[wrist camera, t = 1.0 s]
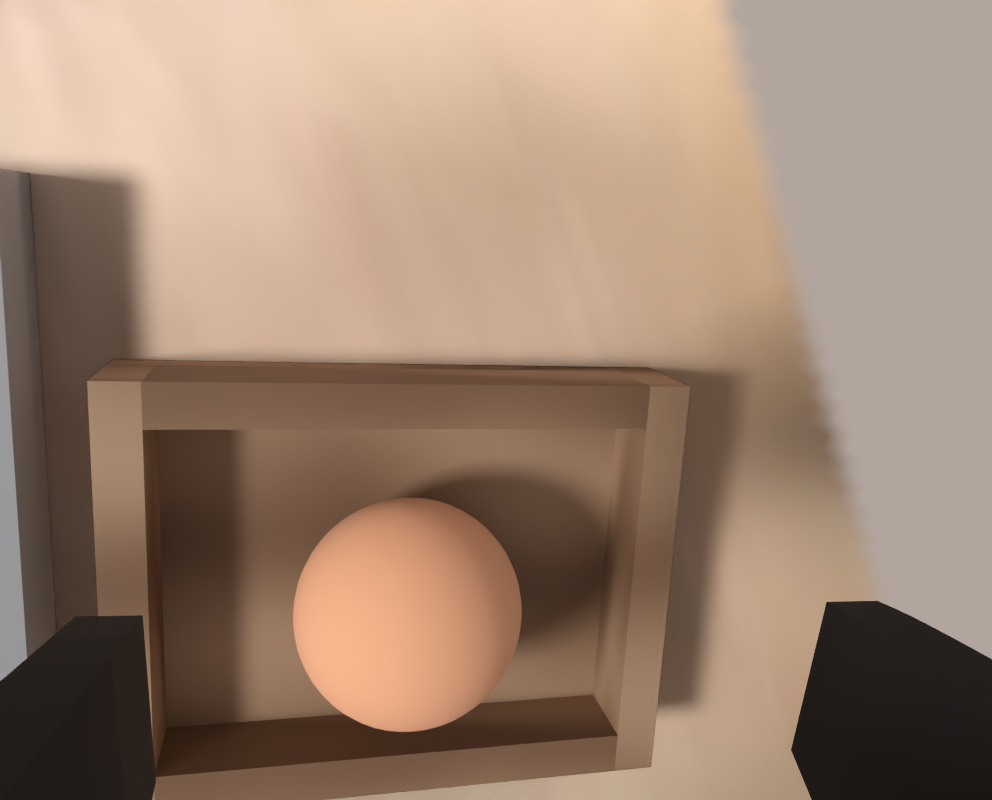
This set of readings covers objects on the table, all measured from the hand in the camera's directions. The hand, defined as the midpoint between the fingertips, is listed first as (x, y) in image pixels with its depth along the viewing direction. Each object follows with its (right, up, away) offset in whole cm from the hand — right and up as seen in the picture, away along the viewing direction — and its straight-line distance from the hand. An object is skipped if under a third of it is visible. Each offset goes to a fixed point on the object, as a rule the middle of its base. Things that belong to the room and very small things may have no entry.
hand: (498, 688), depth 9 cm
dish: (-3, -1, +13) cm, 13 cm away
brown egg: (-2, -1, +12) cm, 13 cm away
